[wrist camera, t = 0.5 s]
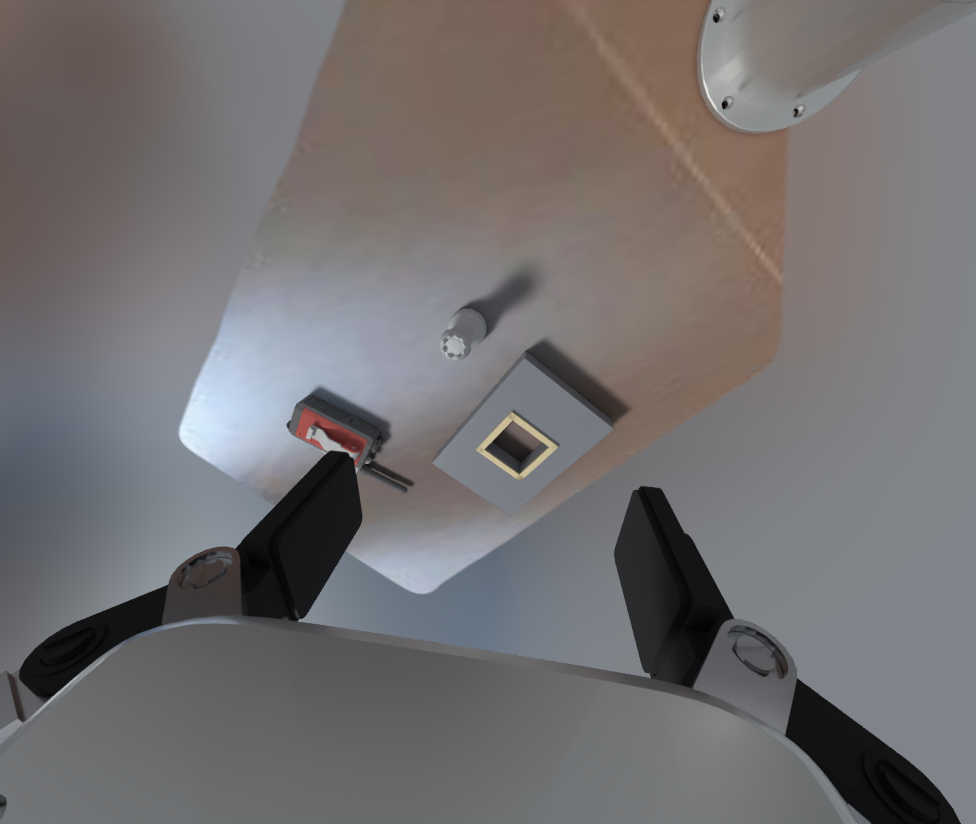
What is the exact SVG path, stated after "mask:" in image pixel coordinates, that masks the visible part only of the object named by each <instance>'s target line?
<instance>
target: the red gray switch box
mask: <svg viewBox="0 0 976 824" xmlns="http://www.w3.org/2000/svg"><path fill="white" fill-rule="evenodd" d="M287 428H288V429H289V432H290V433H291V434H292V435H293V436H295V437H297V438H299V439H301V440H303V441H305V442H307V443H309V444H311V445H313V446H314V447H317V448H319V449H321V451H323V453H324V454H326V453H327V452H328V451H330V450H334V451H342V452H348V453H349V455H350V457H353V458H354V463H355V469H356V475H357V473H358V472H359V473H361V474H363V475H367V476H369V477H371V478H373V479H375V480H377V481H379V482H381V483H383V484H385V485H387V486H389V487H391V488H393V489H395V490H397V491H399V492H401V493H406V492H407V488H406V487H405V486H403V485H401V484H399V483H397V482H395V481H393V480H391V479H389V478H387V477H385V476H383V475H381V474H379V473H377V472H375V471H373V470H371V469H370V468H369V467H367V466H365V465H364V464H365V463H366V464H368V463H370V462H371V460H372V458H371V457H370V454H371V452H373V453H375V452H376V451H377V449H378V448H379V446H380V444H381V440H380V439H378V436H379V434H380V431H379V429H377V428H375V427H373V426H371V425H369V424H367V423H365V422H364V421H362V420H360V419H358V418H356V417H354V416H352V415H349V414H348V413H345V411H344V412H343V411H342V410H340V409H338V408H336V407H335V406H332V405H331V404H328V403H327V402H324V400H323V401H322V400H321V399H320V398H317V397H315V396H313V395H310V396H307V397H306V398H304V399H303V400H301V401H300V402H299V403H297V404H296V406H295V408H294V412H293V416H292V419H291V420H290V421H289V422H288V423H287ZM377 439H378V440H377Z"/></svg>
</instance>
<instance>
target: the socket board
mask: <svg viewBox="0 0 976 824" xmlns="http://www.w3.org/2000/svg"><path fill="white" fill-rule="evenodd" d="M512 420H513V421H515V422H516V423H517V424H519V425H520V426H521V427H523V428H524V429H525V430H527V431H528V432H529V433H531V434H532V435H533V436H535V437H536V438H537V439H539V440H540V441H541V442H542V443H541V444H540V445H539V446H538V447H537V448H536V449H534V450H533V451H532V452H531V453H530V454H529V455H528V456H527V457H526V458H525V459H524V460H523V461H522V462H519V461H518V460H517V459H515V458H514V457H512V456H511V455H510V454H508V453H507V452H505V451H504V450H503V449H501V448H500V447H498V446H497V445H496V444H494V443H493V442H492V441H493V440H494V439H495V438H496V437H497V436H498V435H499V434H500V433H501V432H502V431H503V430H504V429H505V428H506V427H507V426H508V425H509V423H510V422H511V421H512ZM613 429H614V428H613V425H612V422H611V419H610V418H609V417H607V416H606V415H605V414H604V413H602V412H601V411H600V410H599V409H597V408H596V407H595V406H594V405H592V404H591V403H590V402H589V401H587V400H586V399H585V398H584V397H582V396H581V395H580V394H579V393H577V392H576V391H575V390H574V389H572V388H571V387H570V386H569V385H567V384H566V383H565V382H564V381H562V380H561V379H560V378H559V377H557V376H556V375H555V374H554V373H552V372H551V371H550V370H549V369H547V368H546V367H545V366H544V365H542V364H541V363H540V362H539V361H537V360H536V359H535V358H534V357H532V356H531V355H530V354H529V353H527V352H526V351H525V352H524V353H523V354H522V355H521V357H520V358H519V359H518V360H517V361H516V362H515V363H514V365H513V366H512V367H511V368H510V369H509V370H508V372H507V373H506V374H505V375H504V376H503V377H502V378H501V380H500V381H499V382H498V383H497V384H496V385H495V387H494V388H493V389H492V390H491V391H490V392H489V393H488V395H487V396H486V397H485V398H484V399H483V400H482V401H481V403H480V404H479V405H478V406H477V407H476V408H475V410H474V411H473V412H472V413H471V414H470V415H469V416H468V418H467V419H466V420H465V421H464V422H463V423H462V425H461V426H460V427H459V428H458V429H457V430H456V431H455V433H454V434H453V435H452V436H451V437H450V438H449V440H448V441H447V442H446V443H445V444H444V445H443V446H442V448H441V449H440V450H439V451H438V452H437V454H436V456H435V458H434V460H433V462H432V464H434V465H435V466H437V467H438V468H440V469H441V470H443V471H444V472H446V473H447V474H449V475H450V476H452V477H453V478H455V479H456V480H458V481H459V482H461V483H462V484H464V485H465V486H466V487H468V488H469V489H471V490H472V491H474V492H475V493H477V494H478V495H480V496H481V497H483V498H484V499H486V500H487V501H489V502H490V503H492V504H493V505H495V506H496V507H498V508H499V509H501V510H502V511H503V512H505V513H506V514H508V515H509V516H511V515H512V514H513V513H514V512H516V511H517V510H518V509H519V508H520V507H522V506H523V505H524V504H525V503H526V502H528V501H529V500H530V499H531V498H532V497H534V496H535V495H536V494H537V493H538V492H539V491H541V490H542V489H543V488H544V487H545V486H547V485H548V484H549V483H550V482H551V481H553V480H554V479H555V478H556V477H557V476H559V475H560V474H561V473H562V472H563V471H565V470H566V469H567V468H568V467H569V466H571V465H572V464H573V463H574V462H575V461H576V460H578V459H579V458H580V457H581V456H582V455H584V454H585V453H586V452H587V451H588V450H590V449H591V448H592V447H593V446H594V445H596V444H597V443H598V442H599V441H600V440H602V439H603V438H604V437H605V436H606V435H607V434H609V433H610V432H611V431H612V430H613Z"/></svg>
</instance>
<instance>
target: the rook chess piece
mask: <svg viewBox="0 0 976 824" xmlns="http://www.w3.org/2000/svg"><path fill="white" fill-rule="evenodd" d="M486 330H487V325H486V322H485V319H484V318H483V317H482V315H481V314H480V313H479V312H477V311H475V310H473V309H462V310H459V311H457V312H456V313H455V314H454V315H453V316H452V318H451V320H450V322H449V324H448V330H446V331H445V332H444V333H443V334H442V336H441V338H440V348H441V350H442V353H444V355H445V356H446V357H447V358H449V359H452V360H461V359H464V358H465V357H467V356H468V355H469V353H470V351H471V348H472V347H475V346H477V345H478V344H479V343H481V342H482V340H483V339H484V337H485V335H486Z"/></svg>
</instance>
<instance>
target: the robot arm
mask: <svg viewBox="0 0 976 824" xmlns="http://www.w3.org/2000/svg"><path fill="white" fill-rule="evenodd" d="M975 11H976V0H711V1H710V4H709V6H708V9H707V11H706V13H705V17H704V20H703V24H702V28H701V32H700V36H699V43H698V51H697V77H698V82H699V86H700V91H701V94H702V97H703V99H704V101H705V103H706V105H707V108H708V109H709V110H710V111H711V113H712V114H713V115H714V117H715V118H716V119H717V120H718V121H720V122H721V123H722V124H724V125H725V126H727V127H728V128H731V129H733V130H736V131H738V132H741V133H750V134H761V133H771V132H774V131H778V130H781V129H784V128H787V127H790V126H792V125H795V124H797V123H799V122H801V121H803V120H805V119H807V118H809V117H810V116H812V115H814V114H815V113H817V112H819V111H820V110H821V109H823V108H824V107H825V106H826V105H828V104H829V103H830V102H832V101H833V100H834V99H835V98H837V97H838V96H839V95H840V94H841V93H842V92H843V91H844V90H845V89H846V88H847V87H848V86H849V85H850V84H851V83H852V82H853V81H854V80H855V79H856V77H857V76H858V75H859V73H860V72H861V71H862V70H863V68H864V67H865V66H867V65H869V64H871V63H873V62H875V61H877V60H879V59H881V58H883V57H885V56H887V55H889V54H891V53H893V52H895V51H897V50H899V49H901V48H903V47H905V46H907V45H909V44H911V43H913V42H915V41H917V40H919V39H921V38H923V37H925V36H927V35H929V34H931V33H933V32H935V31H937V30H939V29H941V28H943V27H945V26H947V25H949V24H951V23H953V22H955V21H957V20H959V19H961V18H963V17H965V16H967V15H969V14H971V13H973V12H975ZM713 17H717V23H715V22H714V21H713ZM723 102H724V103H725V104H726V107H725V109H723V108H722V103H723ZM793 110H794V111H795V115H794V117H793V114H792V113H793ZM361 522H362V510H361V503H360V496H359V489H358V483H357V476H356V469H355V463H354V458H353V457H350V455H349V453H348V452H342V451H334V450H330V451H328V452H327V453H326V454H325V455H324V456H323V457H322V458H321V459H320V460H319V461H318V462H317V464H316V465H315V466H314V467H313V468H312V469H311V470H310V471H309V472H308V473H307V474H306V475H305V476H304V477H303V478H302V479H301V480H300V481H299V482H298V483H297V484H296V485H295V486H294V487H293V488H292V489H291V490H290V491H289V492H288V494H287V495H286V496H285V497H284V498H283V499H282V500H281V501H280V502H279V503H278V504H277V505H276V506H275V507H274V508H273V509H272V510H271V511H270V512H269V513H268V514H267V515H266V516H265V517H264V518H263V520H261V521H260V522H259V524H258V525H257V526H256V527H255V528H254V529H253V530H252V531H251V532H250V533H249V534H248V535H247V536H246V537H245V538H244V539H243V540H242V542H241V543H240V544H239V545H238V546H237V548H236V549H234V548H231V547H215V548H211V549H207V550H204V551H202V552H200V553H197V554H195V555H194V556H192V557H191V558H189V559H187V560H186V561H185V562H183V563H182V564H181V565H180V566H179V567H178V568H177V569H176V570H175V571H174V573H173V574H172V575H171V578H170V580H169V584H168V585H167V586H164V587H162V588H159V589H157V590H154V591H152V592H149V593H147V594H144V595H142V596H139V597H137V598H134V599H132V600H129V601H127V602H124V603H122V604H120V605H117V606H115V607H112V608H110V609H107V610H105V611H102V612H100V613H97V614H95V615H92V616H90V617H88V618H85V619H82V620H80V621H77V622H75V623H73V624H71V625H69V626H67V627H65V628H63V629H61V630H60V631H58V632H56V633H55V634H54V635H52V636H50V637H49V638H47V639H46V640H45V641H44V642H43V643H41V644H40V645H39V646H38V647H36V648H35V649H34V650H33V652H32V653H31V654H30V655H29V656H28V657H27V658H26V659H25V661H24V663H23V665H22V667H21V668H20V669H19V670H18V671H16V672H14V673H12V674H10V673H9V672H8V671H7V670H6V671H4V672H2V673H0V824H961V823H960V821H959V819H958V817H957V815H956V814H955V812H954V810H953V808H952V807H951V805H950V804H949V803H948V801H947V800H946V799H945V797H944V796H943V795H942V793H941V792H940V791H939V790H938V788H937V787H936V786H934V784H933V783H932V782H931V781H930V780H929V779H928V778H927V777H926V776H925V775H924V774H923V773H922V772H921V771H920V770H918V769H917V768H916V767H915V766H914V765H913V764H911V763H910V762H909V761H908V760H906V759H905V758H904V757H902V756H901V755H900V754H898V753H897V752H896V751H894V750H893V749H892V748H890V747H889V746H888V745H886V744H885V743H884V742H882V741H881V740H880V739H878V738H877V737H876V736H874V735H873V734H872V733H870V732H869V731H868V730H866V729H865V728H863V727H862V726H861V725H859V724H858V723H857V722H855V721H854V720H853V719H851V718H850V717H849V716H847V715H846V714H845V713H843V712H842V711H841V710H839V709H838V708H837V707H835V706H834V705H833V704H831V703H830V702H828V701H827V700H826V699H824V698H823V697H822V696H820V695H819V694H818V693H816V692H815V691H814V690H812V689H811V688H810V687H808V686H807V685H805V684H804V683H803V682H802V681H800V680H799V679H798V678H797V669H796V666H795V664H794V661H793V659H792V657H791V656H790V654H789V653H788V651H787V650H786V648H785V647H784V646H783V645H782V644H781V643H780V642H779V641H778V640H777V639H776V638H775V637H774V636H772V635H771V634H770V633H768V632H767V631H766V630H764V629H763V628H761V627H759V626H757V625H755V624H753V623H751V622H748V621H745V620H741V619H734V617H733V615H732V613H731V612H730V610H729V608H728V606H727V604H726V602H725V600H724V598H723V597H722V595H721V593H720V591H719V589H718V587H717V585H716V583H715V581H714V580H713V578H712V576H711V574H710V572H709V570H708V568H707V566H706V565H705V563H704V561H703V559H702V557H701V555H700V554H699V551H698V549H697V548H696V546H695V544H694V542H693V540H692V539H691V537H690V536H689V535H687V534H685V533H684V531H683V529H682V528H681V526H680V524H679V522H678V520H677V518H676V516H675V514H674V512H673V510H672V508H671V506H670V504H669V503H668V500H667V499H666V497H665V495H664V493H663V491H662V490H661V489H660V488H655V487H646V486H641V487H640V488H639V490H634V491H633V493H632V496H631V499H630V502H629V505H628V509H627V512H626V515H625V518H624V521H623V524H622V528H621V531H620V534H619V537H618V540H617V543H616V546H615V551H614V557H615V563H616V566H617V571H618V575H619V579H620V582H621V586H622V590H623V594H624V598H625V602H626V606H627V610H628V614H629V618H630V621H631V625H632V629H633V633H634V637H635V641H636V645H637V649H638V652H639V657H640V661H641V664H642V667H643V670H644V672H645V673H650V677H651V678H647V677H641V676H636V675H630V674H625V673H619V672H614V671H608V670H603V669H597V668H591V667H585V666H579V665H573V664H567V663H560V662H555V661H549V660H542V659H536V658H530V657H524V656H518V655H512V654H506V653H500V652H493V651H487V650H481V649H474V648H468V647H462V646H454V645H449V644H443V643H436V642H430V641H423V640H417V639H411V638H403V637H397V636H391V635H384V634H378V633H371V632H365V631H358V630H352V629H345V628H338V627H332V626H325V625H319V624H311V623H303V622H298V620H299V619H302V618H304V617H305V616H306V615H307V613H308V612H309V610H310V608H311V607H312V605H313V603H314V602H315V600H316V599H317V597H318V595H319V594H320V592H321V590H322V589H323V587H324V585H325V583H326V582H327V580H328V579H329V577H330V575H331V574H332V572H333V570H334V569H335V567H336V565H337V564H338V562H339V560H340V559H341V557H342V555H343V554H344V552H345V550H346V549H347V547H348V545H349V544H350V542H351V540H352V539H353V537H354V535H355V534H356V532H357V530H358V529H359V527H360V525H361Z"/></svg>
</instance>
